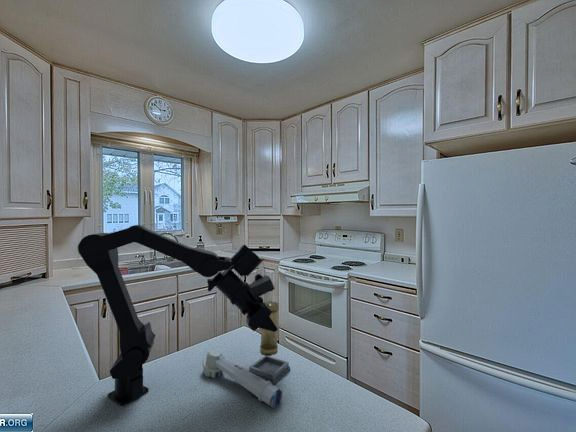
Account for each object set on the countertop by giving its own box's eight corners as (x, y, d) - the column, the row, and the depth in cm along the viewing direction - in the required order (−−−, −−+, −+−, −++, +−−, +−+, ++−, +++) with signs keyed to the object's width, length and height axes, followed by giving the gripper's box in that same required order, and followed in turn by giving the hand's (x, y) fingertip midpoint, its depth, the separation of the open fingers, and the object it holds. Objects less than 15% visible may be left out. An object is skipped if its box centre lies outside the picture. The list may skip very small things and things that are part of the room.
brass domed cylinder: (256, 350, 76) (257, 303, 76) (270, 345, 79) (271, 300, 79) (267, 357, 73) (268, 308, 73) (281, 352, 76) (282, 304, 76)
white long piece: (271, 396, 60) (200, 347, 75) (267, 424, 61) (197, 371, 75) (285, 384, 65) (215, 340, 79) (281, 411, 65) (213, 362, 80)
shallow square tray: (247, 375, 75) (247, 367, 75) (265, 361, 82) (265, 354, 82) (273, 385, 70) (273, 376, 70) (289, 370, 77) (290, 362, 77)
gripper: (264, 273, 66) (306, 316, 69) (251, 261, 84) (284, 295, 87) (229, 309, 64) (274, 351, 67) (223, 288, 82) (259, 323, 85)
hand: (274, 327), depth 76 cm, fingers closed on brass domed cylinder, 4 cm apart
